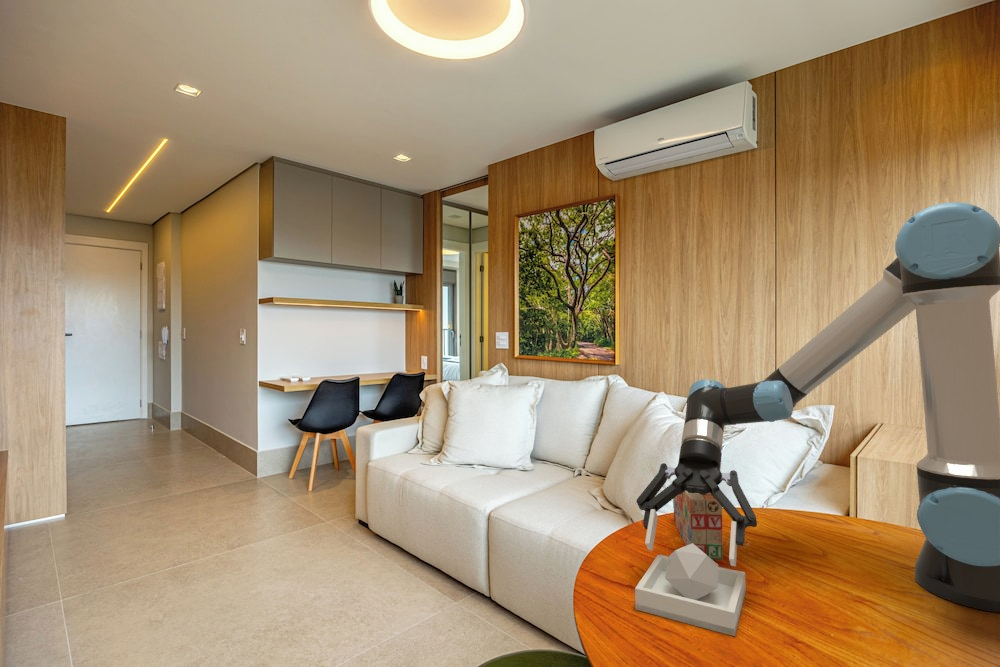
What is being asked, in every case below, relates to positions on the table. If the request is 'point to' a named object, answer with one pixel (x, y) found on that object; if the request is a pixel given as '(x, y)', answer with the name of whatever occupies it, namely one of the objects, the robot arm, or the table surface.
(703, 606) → the tray
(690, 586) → the die
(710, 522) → the stack of blocks
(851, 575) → the table surface
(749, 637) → the table surface
